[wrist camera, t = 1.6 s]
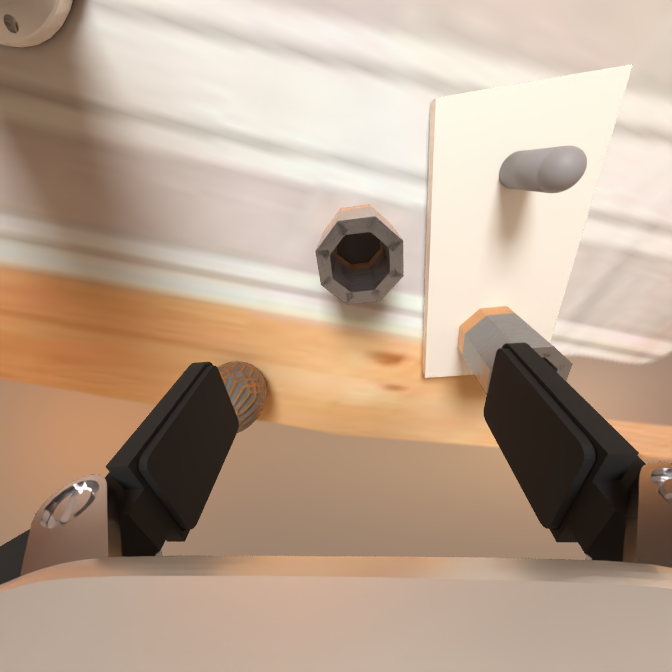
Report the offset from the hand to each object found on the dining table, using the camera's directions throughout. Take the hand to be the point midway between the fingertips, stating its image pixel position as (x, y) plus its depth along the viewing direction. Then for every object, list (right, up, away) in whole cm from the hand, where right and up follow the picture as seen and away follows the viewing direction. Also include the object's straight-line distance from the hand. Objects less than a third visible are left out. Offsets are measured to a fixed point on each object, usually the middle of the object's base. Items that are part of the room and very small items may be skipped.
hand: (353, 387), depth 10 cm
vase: (-12, -3, +24) cm, 27 cm away
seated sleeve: (+15, +2, +18) cm, 23 cm away
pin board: (+14, +9, +16) cm, 23 cm away
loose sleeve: (+1, +10, +16) cm, 19 cm away
